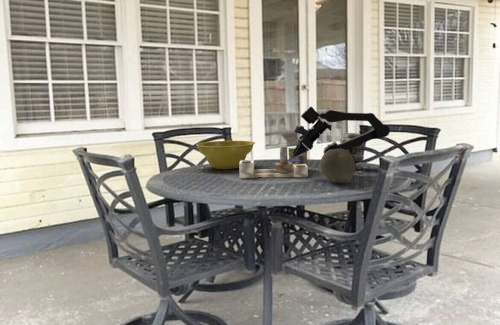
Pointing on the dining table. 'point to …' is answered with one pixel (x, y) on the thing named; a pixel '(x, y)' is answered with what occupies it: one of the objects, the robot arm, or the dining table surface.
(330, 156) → the cantaloupe
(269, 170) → the rail track
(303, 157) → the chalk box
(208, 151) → the planter bowl
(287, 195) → the dining table surface
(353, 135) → the apothecary jar
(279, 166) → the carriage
